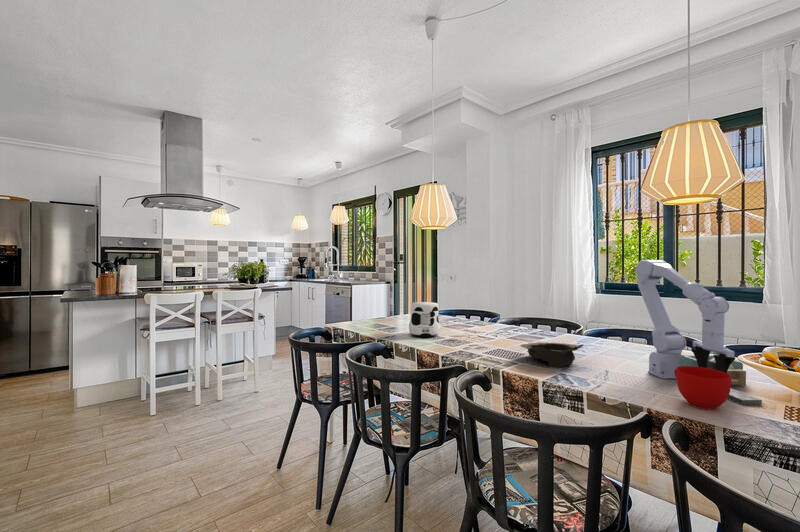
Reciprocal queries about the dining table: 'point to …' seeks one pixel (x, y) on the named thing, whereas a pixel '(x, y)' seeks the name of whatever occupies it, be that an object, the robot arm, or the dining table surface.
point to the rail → (743, 398)
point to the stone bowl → (552, 352)
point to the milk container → (424, 319)
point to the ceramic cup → (703, 386)
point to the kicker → (732, 374)
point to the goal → (691, 360)
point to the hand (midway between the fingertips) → (711, 373)
